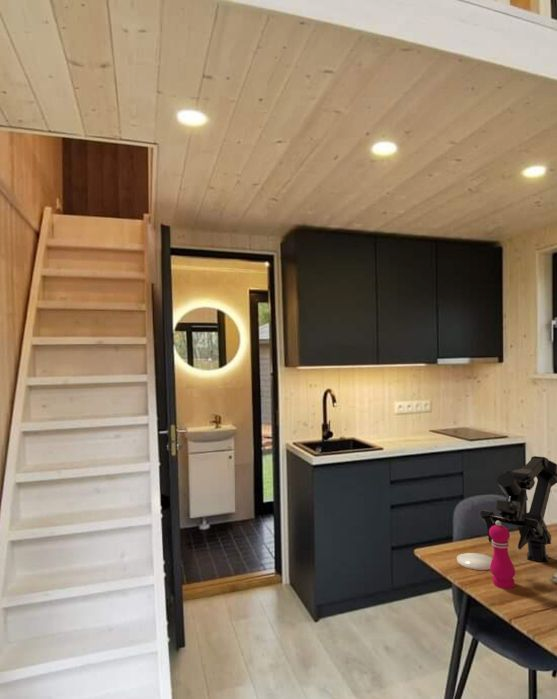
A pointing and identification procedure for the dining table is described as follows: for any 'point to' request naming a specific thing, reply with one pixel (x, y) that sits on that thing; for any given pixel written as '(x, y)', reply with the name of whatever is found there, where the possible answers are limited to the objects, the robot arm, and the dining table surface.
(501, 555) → the pepper mill
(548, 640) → the dining table surface
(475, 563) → the ceramic plate
